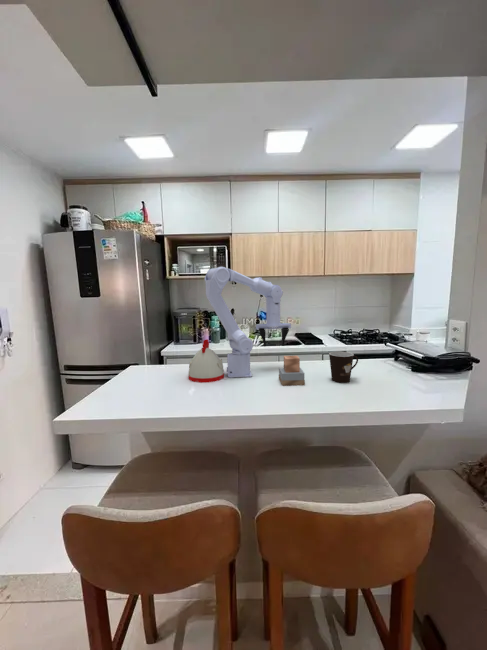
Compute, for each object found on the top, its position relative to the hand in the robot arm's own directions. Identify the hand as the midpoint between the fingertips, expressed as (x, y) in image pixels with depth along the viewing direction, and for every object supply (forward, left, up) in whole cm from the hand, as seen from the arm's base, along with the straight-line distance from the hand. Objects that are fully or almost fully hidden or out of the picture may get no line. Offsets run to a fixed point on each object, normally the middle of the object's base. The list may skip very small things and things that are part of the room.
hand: (273, 345), depth 129 cm
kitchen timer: (-28, -8, -11) cm, 31 cm away
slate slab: (+4, -18, -9) cm, 20 cm away
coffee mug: (+24, -18, -11) cm, 32 cm away
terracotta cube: (+4, -18, -6) cm, 20 cm away
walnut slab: (+4, -18, -11) cm, 22 cm away
